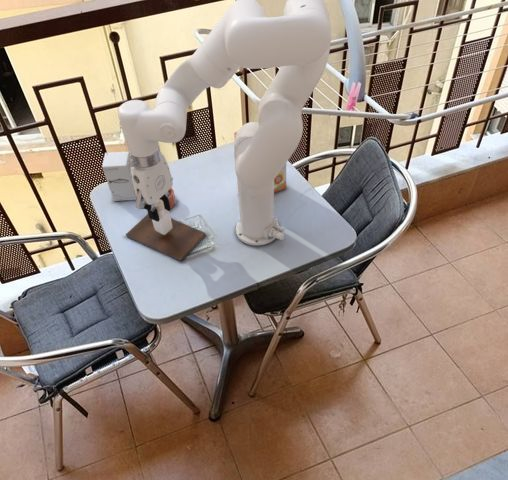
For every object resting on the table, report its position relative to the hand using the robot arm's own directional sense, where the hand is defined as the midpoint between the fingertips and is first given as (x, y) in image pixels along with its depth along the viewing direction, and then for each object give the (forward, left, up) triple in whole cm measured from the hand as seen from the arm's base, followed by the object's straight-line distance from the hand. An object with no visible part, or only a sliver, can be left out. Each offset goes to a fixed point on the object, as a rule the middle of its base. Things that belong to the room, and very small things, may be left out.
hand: (160, 213), depth 128 cm
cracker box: (-14, -31, -9) cm, 35 cm away
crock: (+10, -11, -8) cm, 17 cm away
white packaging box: (+23, -9, -9) cm, 26 cm away
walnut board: (0, 0, -8) cm, 8 cm away
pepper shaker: (0, 0, -6) cm, 6 cm away
